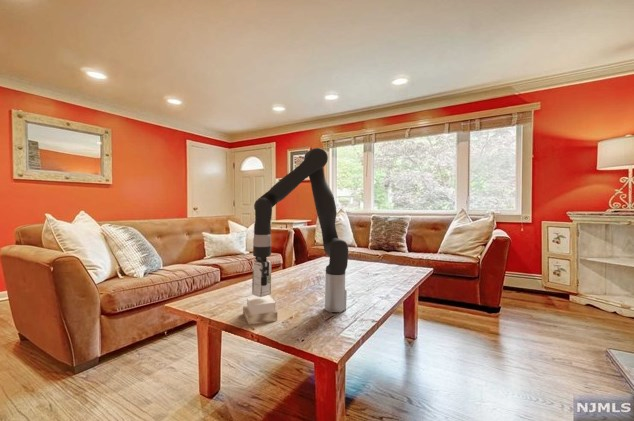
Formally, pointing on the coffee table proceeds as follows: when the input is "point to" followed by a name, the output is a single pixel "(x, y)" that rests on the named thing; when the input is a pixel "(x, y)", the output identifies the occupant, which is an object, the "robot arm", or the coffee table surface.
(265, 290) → the syrup box
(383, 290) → the coffee table surface
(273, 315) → the ash base block
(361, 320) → the coffee table surface
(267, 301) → the off-white top block
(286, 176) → the robot arm
